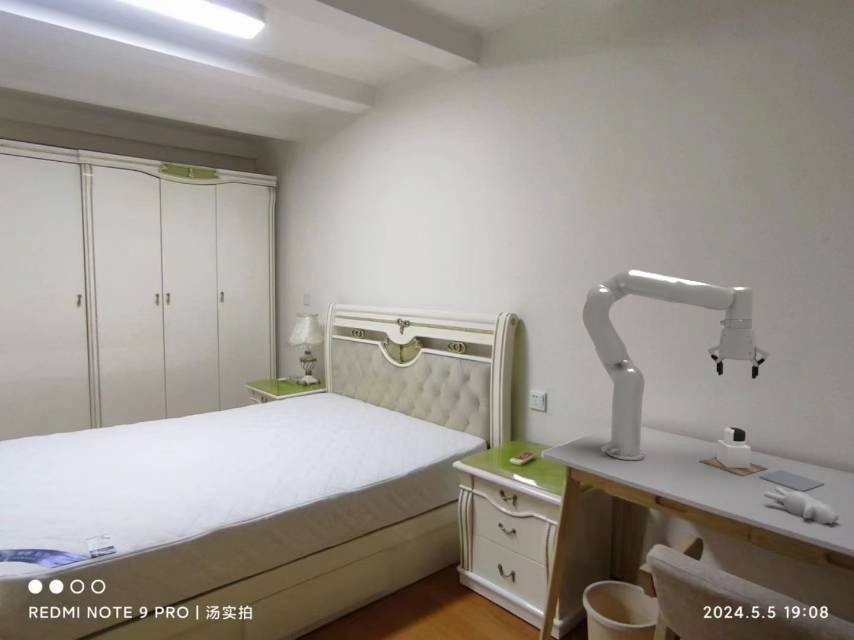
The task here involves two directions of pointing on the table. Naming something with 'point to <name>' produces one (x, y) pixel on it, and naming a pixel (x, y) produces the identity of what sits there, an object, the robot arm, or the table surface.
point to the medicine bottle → (734, 449)
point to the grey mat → (792, 480)
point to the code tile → (737, 471)
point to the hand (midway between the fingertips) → (736, 376)
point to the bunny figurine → (804, 505)
